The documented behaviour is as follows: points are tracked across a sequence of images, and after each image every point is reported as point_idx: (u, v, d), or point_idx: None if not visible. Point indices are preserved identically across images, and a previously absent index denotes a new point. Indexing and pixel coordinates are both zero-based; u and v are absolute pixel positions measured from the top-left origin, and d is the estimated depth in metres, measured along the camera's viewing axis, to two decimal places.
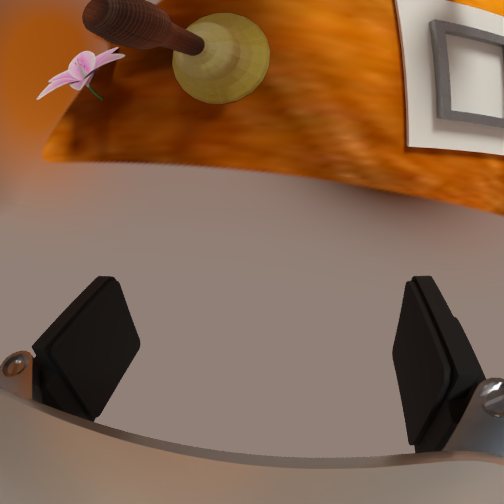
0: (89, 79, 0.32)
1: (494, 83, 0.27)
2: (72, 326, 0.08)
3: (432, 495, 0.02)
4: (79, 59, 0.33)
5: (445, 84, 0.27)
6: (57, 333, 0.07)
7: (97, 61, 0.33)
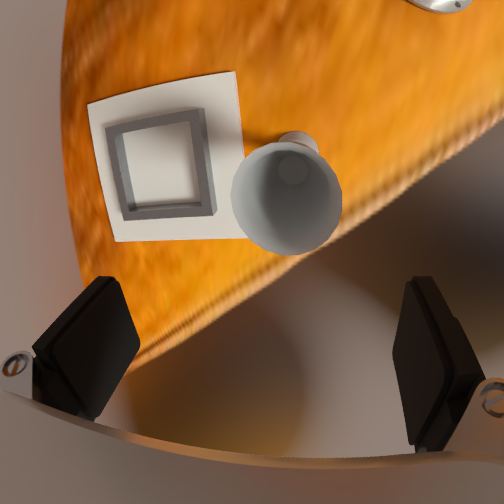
0: None
1: (163, 189, 0.39)
2: (72, 326, 0.08)
3: (432, 495, 0.02)
4: None
5: (133, 125, 0.33)
6: (57, 333, 0.07)
7: None
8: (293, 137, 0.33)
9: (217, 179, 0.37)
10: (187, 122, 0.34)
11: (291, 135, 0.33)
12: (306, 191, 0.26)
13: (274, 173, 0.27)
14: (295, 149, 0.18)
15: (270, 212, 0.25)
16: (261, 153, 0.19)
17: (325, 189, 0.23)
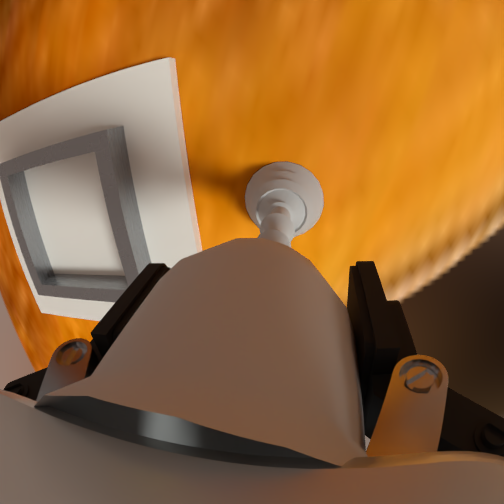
0: None
1: (81, 254, 0.24)
2: (132, 311, 0.08)
3: (432, 495, 0.02)
4: None
5: (26, 160, 0.18)
6: (118, 318, 0.08)
7: None
8: (277, 175, 0.18)
9: (152, 244, 0.22)
10: None
11: (274, 170, 0.19)
12: None
13: None
14: None
15: None
16: None
17: None
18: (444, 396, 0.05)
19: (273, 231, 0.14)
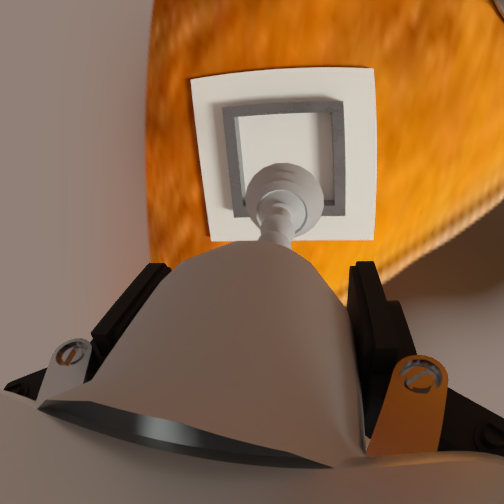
0: None
1: None
2: (132, 311, 0.08)
3: (432, 495, 0.02)
4: None
5: (262, 108, 0.30)
6: (119, 318, 0.08)
7: None
8: (277, 176, 0.18)
9: (348, 177, 0.34)
10: (321, 113, 0.31)
11: (274, 171, 0.19)
12: None
13: None
14: None
15: None
16: None
17: None
18: (444, 396, 0.05)
19: (273, 232, 0.14)
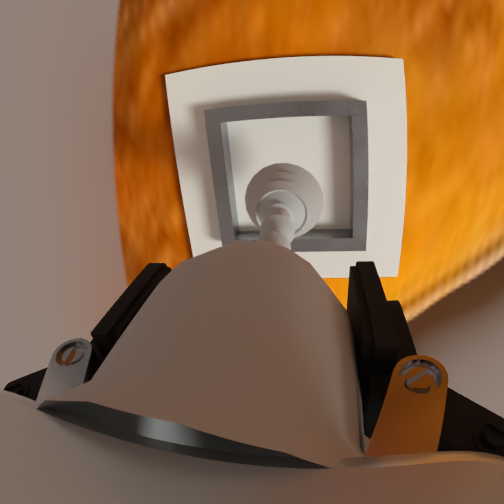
0: None
1: None
2: (132, 311, 0.08)
3: (432, 495, 0.02)
4: None
5: (258, 110, 0.22)
6: (118, 318, 0.08)
7: None
8: (277, 176, 0.18)
9: (369, 200, 0.26)
10: (336, 117, 0.23)
11: (274, 171, 0.19)
12: None
13: None
14: None
15: None
16: None
17: None
18: (444, 396, 0.05)
19: (273, 233, 0.14)
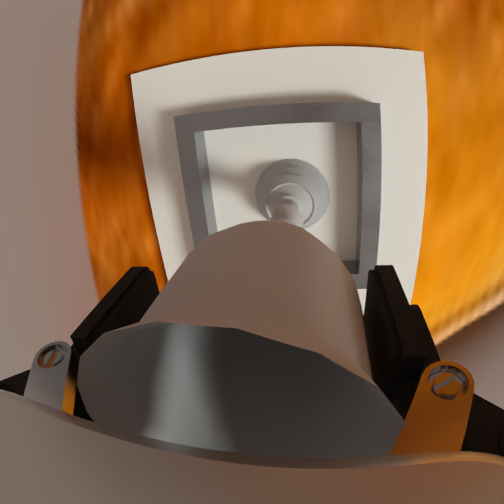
0: None
1: None
2: (112, 315, 0.08)
3: (432, 495, 0.02)
4: None
5: (241, 115, 0.18)
6: (97, 322, 0.08)
7: None
8: (287, 171, 0.19)
9: (380, 227, 0.21)
10: (340, 123, 0.19)
11: (283, 166, 0.20)
12: None
13: None
14: None
15: (224, 368, 0.11)
16: None
17: None
18: (469, 403, 0.04)
19: (284, 220, 0.15)
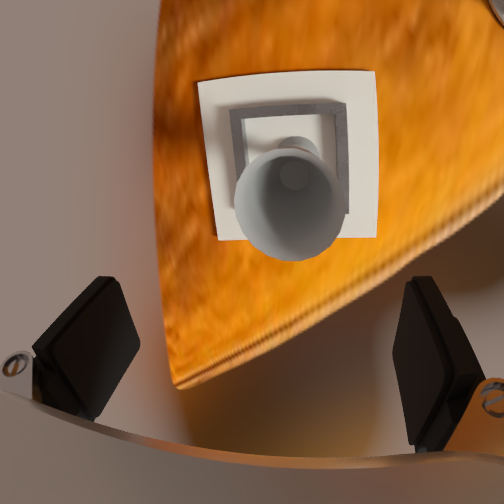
0: None
1: None
2: (72, 326, 0.08)
3: (432, 495, 0.02)
4: None
5: (268, 110, 0.31)
6: (57, 333, 0.07)
7: None
8: (294, 142, 0.33)
9: (351, 177, 0.35)
10: (324, 115, 0.32)
11: (292, 140, 0.34)
12: (307, 196, 0.26)
13: (276, 178, 0.27)
14: (299, 155, 0.18)
15: (272, 217, 0.25)
16: (265, 159, 0.19)
17: (327, 195, 0.24)
18: None
19: None
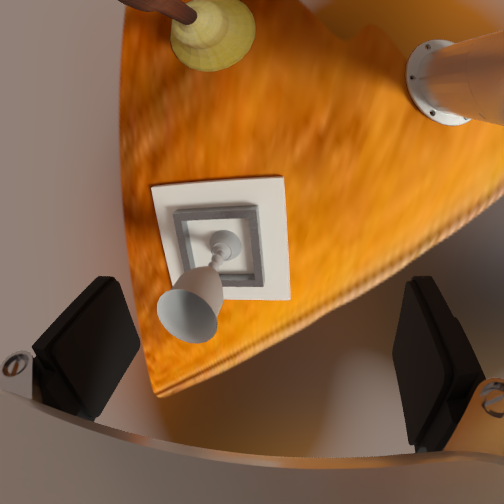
0: None
1: None
2: (72, 326, 0.08)
3: (432, 495, 0.02)
4: None
5: (199, 215, 0.45)
6: (57, 333, 0.07)
7: None
8: (220, 236, 0.47)
9: (266, 258, 0.49)
10: None
11: (219, 234, 0.48)
12: None
13: None
14: (189, 290, 0.32)
15: (190, 308, 0.39)
16: (171, 291, 0.33)
17: None
18: None
19: (213, 261, 0.43)
